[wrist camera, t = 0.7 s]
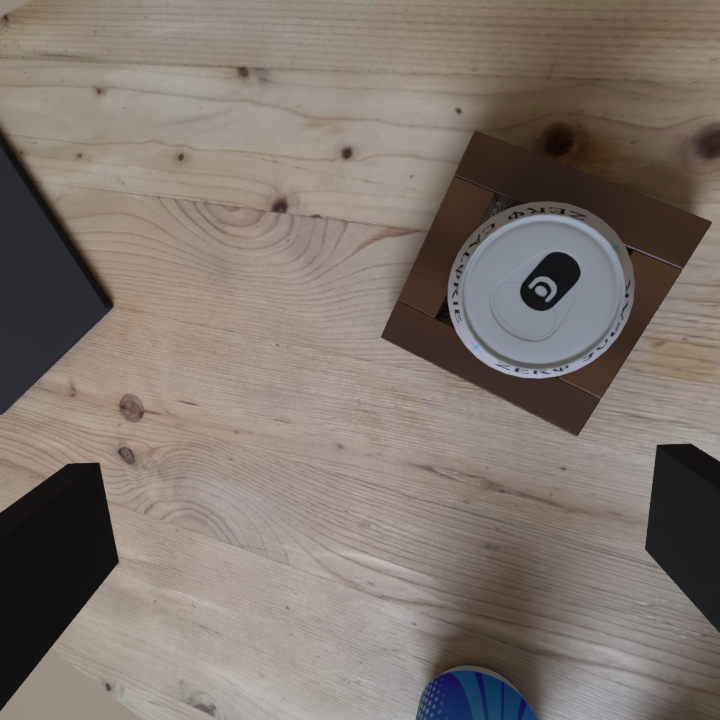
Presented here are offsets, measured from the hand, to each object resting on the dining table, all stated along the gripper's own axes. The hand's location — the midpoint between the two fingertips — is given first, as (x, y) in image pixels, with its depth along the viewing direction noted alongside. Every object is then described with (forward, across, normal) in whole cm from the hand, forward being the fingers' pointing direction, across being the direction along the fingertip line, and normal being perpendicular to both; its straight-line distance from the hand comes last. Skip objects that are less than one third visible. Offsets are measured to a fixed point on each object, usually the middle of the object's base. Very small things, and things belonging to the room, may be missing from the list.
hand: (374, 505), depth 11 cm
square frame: (+19, +9, +3) cm, 21 cm away
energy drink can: (+19, +10, +3) cm, 22 cm away
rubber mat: (+31, -33, +4) cm, 46 cm away
